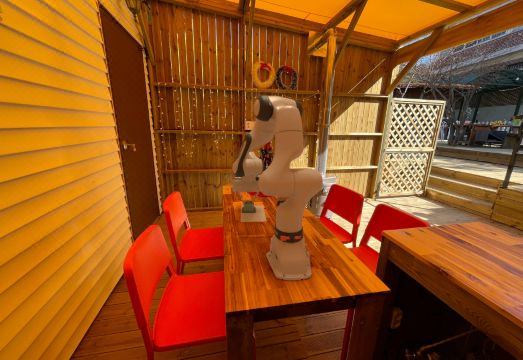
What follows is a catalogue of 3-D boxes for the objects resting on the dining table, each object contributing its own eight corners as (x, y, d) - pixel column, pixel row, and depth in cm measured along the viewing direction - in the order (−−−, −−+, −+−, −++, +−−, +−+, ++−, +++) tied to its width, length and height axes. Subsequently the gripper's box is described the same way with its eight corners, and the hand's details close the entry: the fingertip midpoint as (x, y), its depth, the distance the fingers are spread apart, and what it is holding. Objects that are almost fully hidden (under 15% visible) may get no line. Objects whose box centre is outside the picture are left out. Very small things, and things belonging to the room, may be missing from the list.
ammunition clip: (276, 208, 145) (277, 191, 142) (276, 207, 147) (276, 190, 144) (292, 207, 147) (292, 190, 143) (291, 206, 148) (291, 190, 145)
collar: (253, 211, 135) (253, 204, 134) (243, 211, 134) (243, 204, 133) (253, 207, 141) (253, 200, 140) (243, 207, 141) (243, 200, 139)
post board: (266, 223, 123) (266, 211, 121) (240, 224, 122) (240, 212, 120) (263, 207, 146) (263, 197, 144) (241, 208, 145) (241, 197, 143)
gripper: (231, 178, 128) (231, 200, 132) (264, 178, 130) (264, 199, 133) (231, 176, 134) (232, 196, 138) (263, 175, 136) (263, 196, 139)
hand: (248, 198), depth 135 cm, fingers open, 8 cm apart
